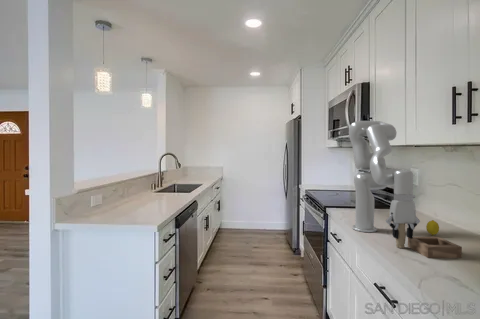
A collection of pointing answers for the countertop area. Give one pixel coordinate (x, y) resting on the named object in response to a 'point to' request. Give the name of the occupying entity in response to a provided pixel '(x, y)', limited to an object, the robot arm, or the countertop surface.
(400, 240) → the handle
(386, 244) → the countertop surface
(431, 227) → the lemon
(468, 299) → the countertop surface
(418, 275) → the countertop surface
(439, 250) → the square frame
